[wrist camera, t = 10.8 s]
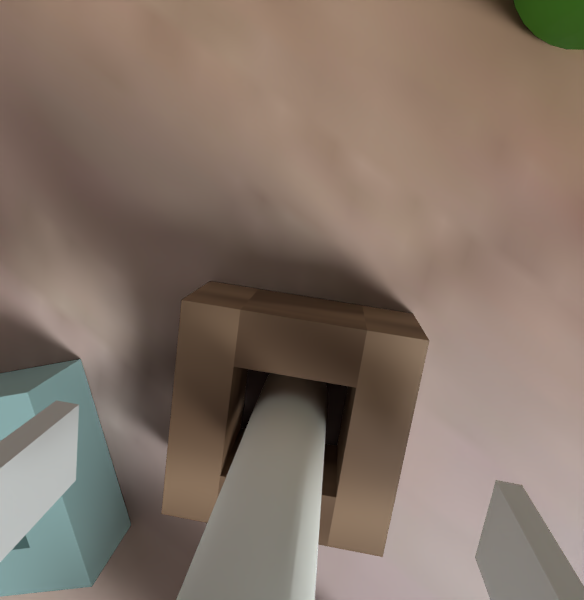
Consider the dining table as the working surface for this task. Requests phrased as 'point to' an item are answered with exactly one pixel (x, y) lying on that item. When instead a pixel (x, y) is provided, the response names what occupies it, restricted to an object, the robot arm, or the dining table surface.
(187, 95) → the dining table surface
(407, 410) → the brown square wooden ring
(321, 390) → the pale grey rod
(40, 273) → the dining table surface
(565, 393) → the dining table surface
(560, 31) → the cup
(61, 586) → the teal square ring
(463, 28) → the dining table surface
